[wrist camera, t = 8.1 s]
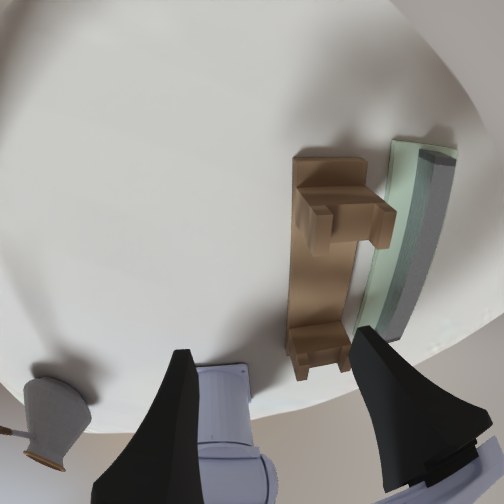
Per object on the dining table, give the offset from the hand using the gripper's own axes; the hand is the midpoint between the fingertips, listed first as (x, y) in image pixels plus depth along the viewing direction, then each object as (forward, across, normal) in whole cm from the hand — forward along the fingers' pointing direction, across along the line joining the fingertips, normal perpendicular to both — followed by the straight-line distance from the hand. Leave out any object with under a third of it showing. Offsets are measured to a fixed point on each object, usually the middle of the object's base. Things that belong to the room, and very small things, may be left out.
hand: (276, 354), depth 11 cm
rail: (+10, -14, +3) cm, 17 cm away
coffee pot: (+11, +30, +18) cm, 37 cm away
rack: (+10, -6, +4) cm, 12 cm away
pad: (+10, -14, +3) cm, 18 cm away
